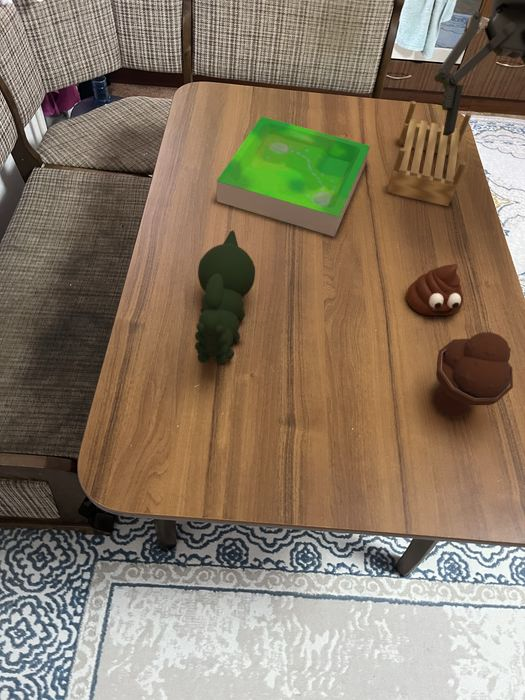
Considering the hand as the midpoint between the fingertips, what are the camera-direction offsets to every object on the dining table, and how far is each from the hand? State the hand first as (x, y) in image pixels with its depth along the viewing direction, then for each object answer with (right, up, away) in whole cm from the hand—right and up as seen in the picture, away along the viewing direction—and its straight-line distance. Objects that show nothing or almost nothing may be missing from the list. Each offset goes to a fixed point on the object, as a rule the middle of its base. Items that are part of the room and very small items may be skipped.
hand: (492, 140), depth 81 cm
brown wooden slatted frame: (+1, +8, +38) cm, 38 cm away
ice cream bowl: (-5, -40, +4) cm, 41 cm away
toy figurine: (-42, -27, +10) cm, 51 cm away
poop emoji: (-4, -23, +15) cm, 28 cm away
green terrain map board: (-28, +4, +33) cm, 43 cm away
